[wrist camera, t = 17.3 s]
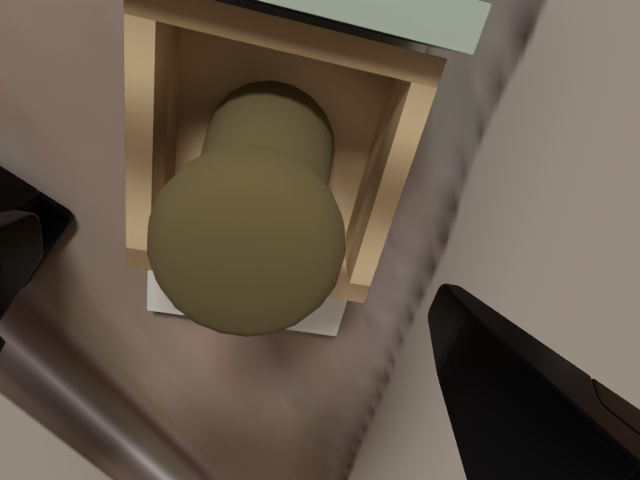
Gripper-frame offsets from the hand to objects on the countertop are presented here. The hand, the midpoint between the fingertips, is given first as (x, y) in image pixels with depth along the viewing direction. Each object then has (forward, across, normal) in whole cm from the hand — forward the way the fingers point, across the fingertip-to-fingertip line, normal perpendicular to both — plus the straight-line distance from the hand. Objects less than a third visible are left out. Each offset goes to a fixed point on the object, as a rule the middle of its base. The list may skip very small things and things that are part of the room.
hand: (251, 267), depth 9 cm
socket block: (+12, 0, 0) cm, 12 cm away
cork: (+11, 0, 0) cm, 11 cm away
